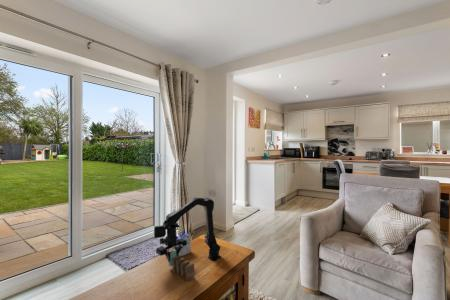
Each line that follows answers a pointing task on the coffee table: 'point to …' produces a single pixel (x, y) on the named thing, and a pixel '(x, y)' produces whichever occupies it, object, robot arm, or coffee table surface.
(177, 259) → the domino
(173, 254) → the domino
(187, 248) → the ink cartridge box
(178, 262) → the domino
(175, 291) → the coffee table surface
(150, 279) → the coffee table surface
